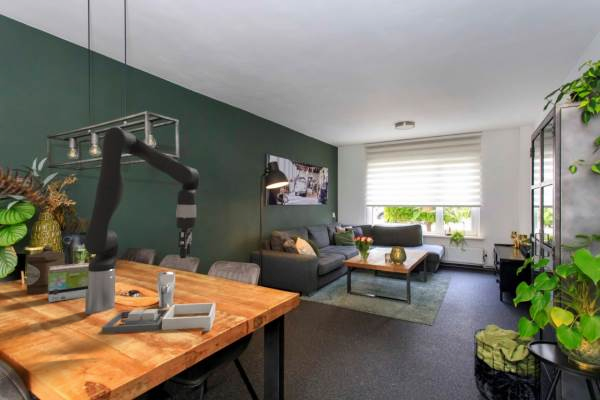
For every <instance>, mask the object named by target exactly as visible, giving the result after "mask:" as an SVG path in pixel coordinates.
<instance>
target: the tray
mask: <svg viewBox="0 0 600 400" xmlns="http://www.w3.org/2000/svg"><path fill="white" fill-rule="evenodd" d="M143 310H144V311H145V310H146V309H143ZM169 310H170V308H165V309H164V308H162V309H161V308H160V309H158V314H161V317H160V320H159V321H158V322H157V324H139V325H125V324H123V325H121V324H120V325H116V324H117V323H118V322H119V321H121V320H122V319H123V318H128V314H129V313H130V312H131V311H132V310H123V311H120V312H119V313H117V314H116V315H115V316H114V317H113V318H111V319H110V320H109V321H108V322H107V323H105V324H104V325H103V326H102V327H101V334H114V333H115V334H116V333H131V332H133V333H134V332H146V331H148V332H149V331H159V329H160V328H162V319H163V317H164V316H165V315H166V314H167V312H168V311H169Z"/></svg>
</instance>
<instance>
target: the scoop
mask: <svg viewBox="0 0 600 400" xmlns="http://www.w3.org/2000/svg"><path fill="white" fill-rule="evenodd" d="M161 317H162V315H161V314H158V316H157V318H156V319H154V320H135V321H128V317H122V318H121V319H120V323H121V324H124V325H139V324H157V322H158V321H159V320H160V319H161Z"/></svg>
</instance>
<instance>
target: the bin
mask: <svg viewBox="0 0 600 400" xmlns="http://www.w3.org/2000/svg"><path fill="white" fill-rule="evenodd" d="M169 309H170V310H169V311H168V312H167V314H166V315H165V316H164V317H163V319H162V326H161V330H162V331H163V330H164V331H165V330H184V329H185V330H186V329H200V328H201V329H202V332H211V330H212V327H213V324H214V321H215V318H216V302H204V303H203V302H201V303H182V304H181V303H179V304H178V303H177V304H176V303H175V304H173V305H172V306H170V307H169ZM194 314H208V315H200V316H182V317H179V316H178V317H175V315H176V316H177V315H194Z"/></svg>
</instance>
